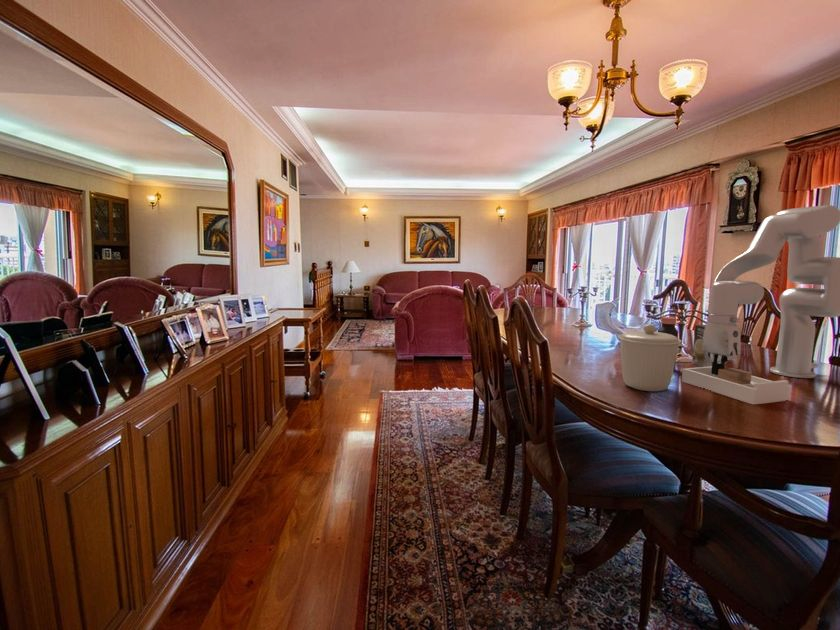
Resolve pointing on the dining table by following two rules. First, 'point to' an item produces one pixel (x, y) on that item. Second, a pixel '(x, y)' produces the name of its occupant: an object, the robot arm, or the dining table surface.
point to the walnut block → (735, 375)
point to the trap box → (738, 386)
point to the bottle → (669, 327)
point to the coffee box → (700, 348)
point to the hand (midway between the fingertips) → (717, 374)
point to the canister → (648, 358)
